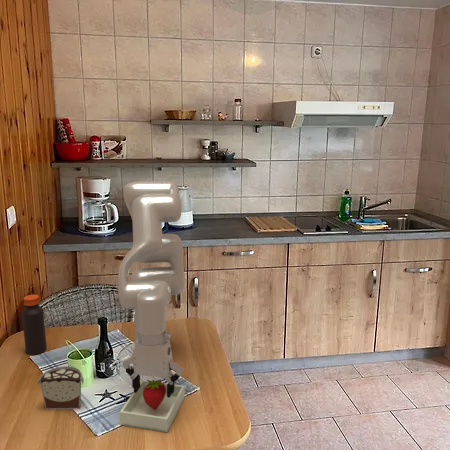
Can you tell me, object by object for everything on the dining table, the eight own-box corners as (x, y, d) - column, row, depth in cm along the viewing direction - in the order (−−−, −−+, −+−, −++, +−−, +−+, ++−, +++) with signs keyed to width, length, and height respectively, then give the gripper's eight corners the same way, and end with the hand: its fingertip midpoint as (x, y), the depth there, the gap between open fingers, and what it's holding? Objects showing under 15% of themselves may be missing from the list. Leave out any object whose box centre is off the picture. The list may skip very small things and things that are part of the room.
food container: (90, 395, 132) (88, 365, 130) (84, 408, 126) (82, 377, 124) (48, 396, 131) (45, 365, 129) (40, 409, 125) (37, 377, 123)
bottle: (27, 357, 152) (21, 302, 148) (24, 348, 158) (19, 295, 153) (48, 352, 156) (43, 298, 151) (45, 344, 161) (40, 292, 157)
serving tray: (142, 391, 134) (141, 380, 133) (184, 398, 131) (184, 385, 130) (120, 425, 119) (119, 411, 118) (167, 432, 117) (167, 419, 116)
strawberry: (138, 414, 123) (137, 382, 120) (151, 398, 130) (151, 367, 127) (157, 420, 121) (157, 388, 118) (170, 403, 128) (170, 372, 125)
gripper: (186, 333, 122) (187, 388, 126) (127, 326, 125) (129, 380, 129) (178, 346, 115) (179, 405, 119) (115, 338, 118) (118, 396, 122)
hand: (153, 392), depth 124 cm, fingers open, 9 cm apart
